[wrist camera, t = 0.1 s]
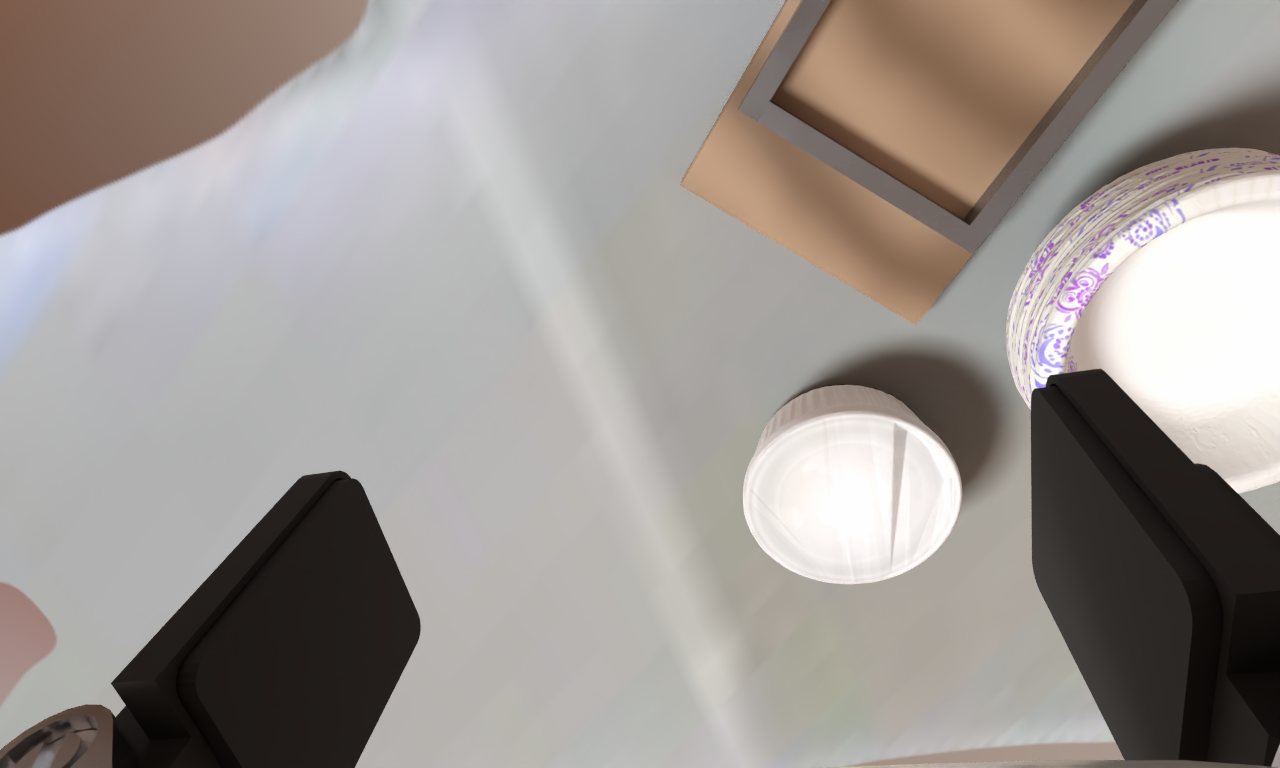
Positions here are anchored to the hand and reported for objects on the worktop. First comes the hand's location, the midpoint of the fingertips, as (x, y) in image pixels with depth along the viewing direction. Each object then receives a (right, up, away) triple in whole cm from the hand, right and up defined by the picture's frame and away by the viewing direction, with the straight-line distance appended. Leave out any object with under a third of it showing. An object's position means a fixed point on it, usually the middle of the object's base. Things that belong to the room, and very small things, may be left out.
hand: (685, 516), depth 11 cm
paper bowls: (+25, +7, +29) cm, 39 cm away
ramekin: (+11, -2, +35) cm, 37 cm away
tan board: (+13, +17, +25) cm, 33 cm away
